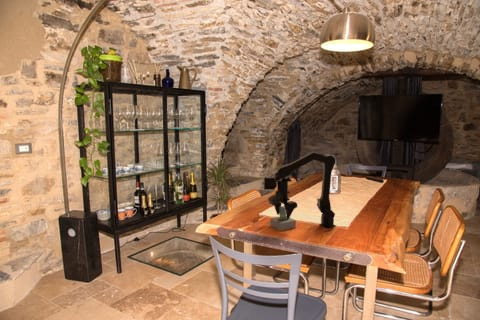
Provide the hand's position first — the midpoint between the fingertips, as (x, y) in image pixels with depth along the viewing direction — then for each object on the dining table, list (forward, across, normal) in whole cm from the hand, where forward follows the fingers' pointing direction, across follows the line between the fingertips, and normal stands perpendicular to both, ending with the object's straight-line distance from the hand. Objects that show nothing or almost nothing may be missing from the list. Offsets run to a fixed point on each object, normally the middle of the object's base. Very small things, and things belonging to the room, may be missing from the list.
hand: (282, 216), depth 178 cm
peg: (+4, 0, 0) cm, 4 cm away
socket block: (+6, 0, 0) cm, 6 cm away
